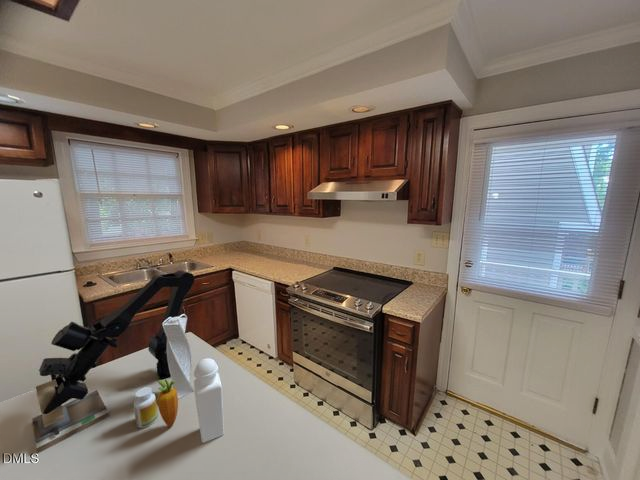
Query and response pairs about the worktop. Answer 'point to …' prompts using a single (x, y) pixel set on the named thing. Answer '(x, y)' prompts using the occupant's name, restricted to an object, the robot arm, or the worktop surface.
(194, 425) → the worktop surface
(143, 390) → the supplement bottle
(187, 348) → the skyscraper
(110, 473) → the worktop surface
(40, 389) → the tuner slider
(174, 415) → the carrot
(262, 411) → the worktop surface
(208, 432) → the white square bottle
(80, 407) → the board
